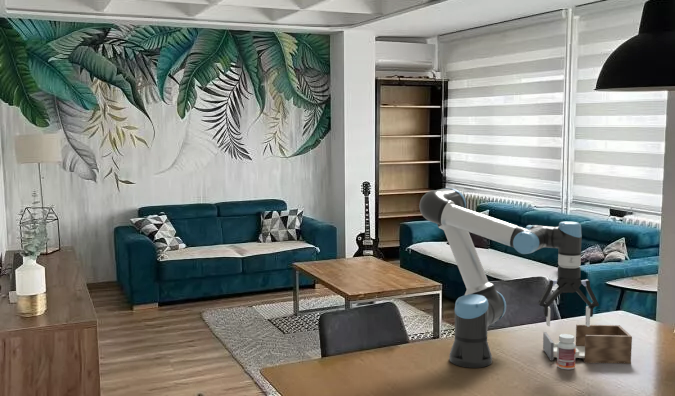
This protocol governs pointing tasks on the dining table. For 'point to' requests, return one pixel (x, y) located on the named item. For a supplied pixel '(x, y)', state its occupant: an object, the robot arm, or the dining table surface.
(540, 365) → the dining table surface
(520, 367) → the dining table surface
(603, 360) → the wooden box
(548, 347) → the tray
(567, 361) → the pill bottle
